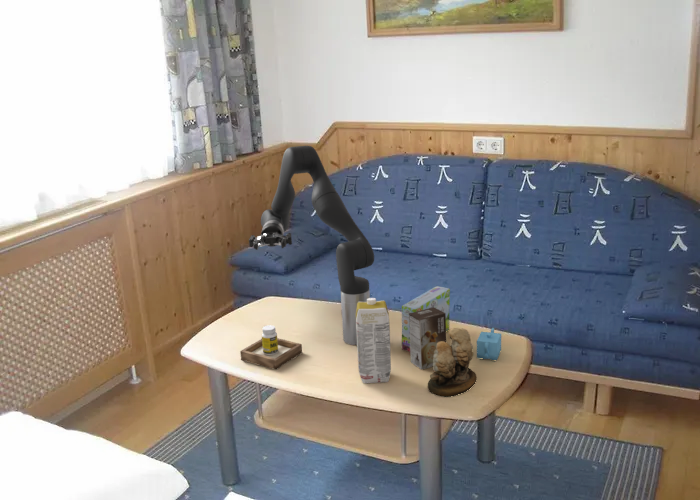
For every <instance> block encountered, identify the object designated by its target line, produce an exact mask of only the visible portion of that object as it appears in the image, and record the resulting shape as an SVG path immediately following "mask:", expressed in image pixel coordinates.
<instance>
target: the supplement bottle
mask: <svg viewBox="0 0 700 500" xmlns="http://www.w3.org/2000/svg"><path fill="white" fill-rule="evenodd" d="M261 330H262V334H261V339H262V345H263V353H264V354H265V355H274V354H276V353H278V341H277V338H278V333H277V331H276V326H275V325H273V324H272V325H271V324H269V325H263V327H262V329H261Z"/></svg>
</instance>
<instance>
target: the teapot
mask: <svg viewBox="0 0 700 500" xmlns="http://www.w3.org/2000/svg"><path fill="white" fill-rule="evenodd" d="M500 351H502V333H500V332H495V328H494V327H492V328H491V329H490V331H489V332H488V331H481V332H480V333H479V335H478V337H477V340H476V359H479V358H483V360H491V361H492V360H496V361H498V358H499V356H500V354H501V352H500Z"/></svg>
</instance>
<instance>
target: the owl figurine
mask: <svg viewBox="0 0 700 500" xmlns="http://www.w3.org/2000/svg"><path fill="white" fill-rule="evenodd" d="M448 337H449V339H450V341H451V342H450V344H449V342H447V341H446V342H444V341H440V342H438V343H437V346H436V349H435V351H434V355H433V357H434V359H433V367H432V369H433V371H434V372H432V373H430V374H429V377H430V378H429V380H428V383H427V388H428V391H429V393H431V394H432V395H434V396H437V397H439V398H440V397H442V398H451V396H453V397H457V396H459V395H458V394H460V395H462V394H461V393H463V394H465V393H467V392H468V391H469V389H470V388H471V387H472V386H473V385H474V384H475V385H476V383H477V381H476V380H477V379H478V377H477V373H476V372H475V371H474V370H472V369H471V368H470V367H469V366H470V363H471V361H472V358H473V356H474V352H473V349H474V345H473V344H472V342H471V340H472V338H471V334H470V333H469V331H468V330H467V329H465V328H459V327H452V328H451V329H449V331H448ZM475 382H476V383H475ZM475 385H474V386H475ZM474 386H473V387H474ZM473 387H472V388H473ZM472 388H471V389H472ZM471 389H470V390H471ZM467 390H468V391H467ZM466 391H467V392H466ZM464 392H465V393H464ZM456 395H457V396H456Z"/></svg>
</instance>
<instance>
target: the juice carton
mask: <svg viewBox="0 0 700 500" xmlns="http://www.w3.org/2000/svg"><path fill="white" fill-rule="evenodd" d="M390 328H391V327H390V314H389V310H388V304H387V303H386V301H385V300H377V298H375V297H370V298H368V299H367V302H358V303H357V309H356V330H357V345H356V348H357V363H358V364H357V365H358V373H359V377H360V380H361V383H362V384H371V383H372V384H373V383H389V380H390V377H391V371H392V367H391V365H392V361H391V360H392V359H391V355H392V354H391V334H390V333H391V332H390V331H391V330H390Z"/></svg>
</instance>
